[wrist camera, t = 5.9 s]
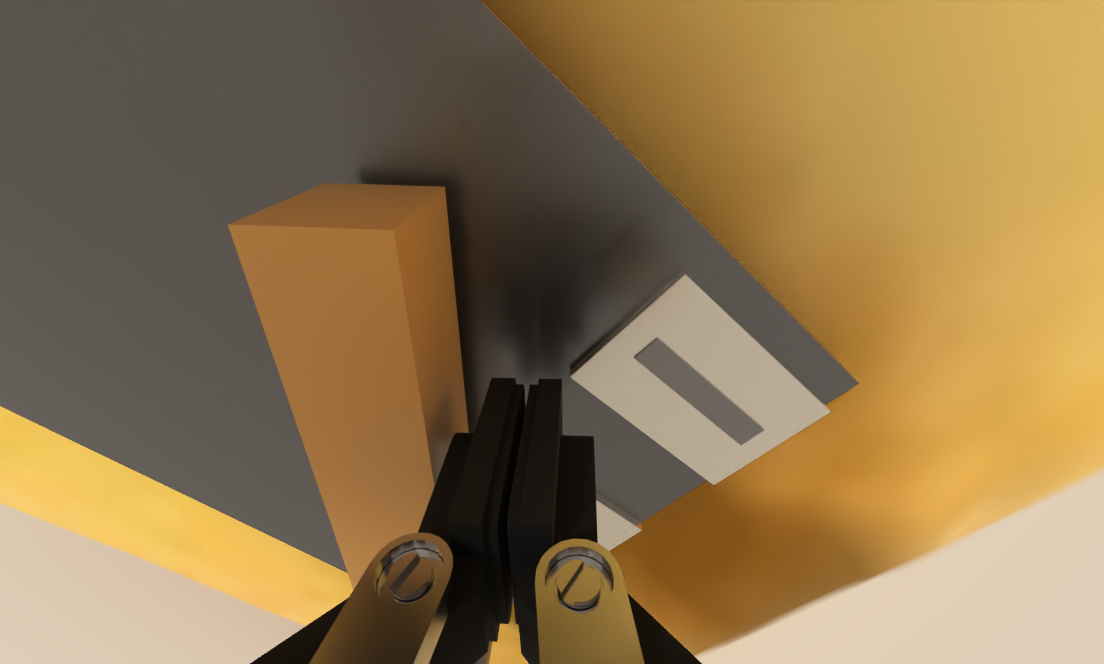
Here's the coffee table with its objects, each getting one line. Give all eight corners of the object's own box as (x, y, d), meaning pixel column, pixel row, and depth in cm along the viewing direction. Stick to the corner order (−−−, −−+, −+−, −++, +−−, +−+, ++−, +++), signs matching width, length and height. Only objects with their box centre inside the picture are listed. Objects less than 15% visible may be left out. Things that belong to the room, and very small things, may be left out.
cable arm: (497, 638, 18) (484, 734, 15) (418, 634, 18) (391, 728, 15) (461, 186, 9) (417, 230, 7) (308, 182, 9) (204, 223, 7)
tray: (-26, 349, 14) (-95, 380, 13) (134, -352, 7) (19, -464, 6) (475, 603, 20) (467, 644, 19) (836, 359, 13) (869, 394, 12)
